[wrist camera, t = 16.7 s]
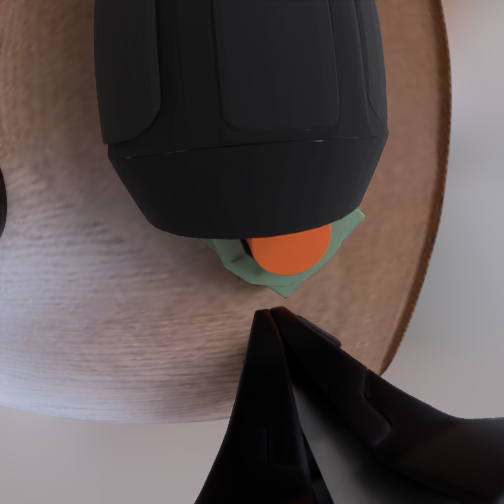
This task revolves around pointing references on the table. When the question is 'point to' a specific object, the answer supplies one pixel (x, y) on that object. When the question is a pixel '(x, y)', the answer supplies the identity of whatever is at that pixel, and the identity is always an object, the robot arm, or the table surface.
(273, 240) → the button
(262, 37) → the portable speaker
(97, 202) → the table surface
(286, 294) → the button block
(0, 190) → the stand
